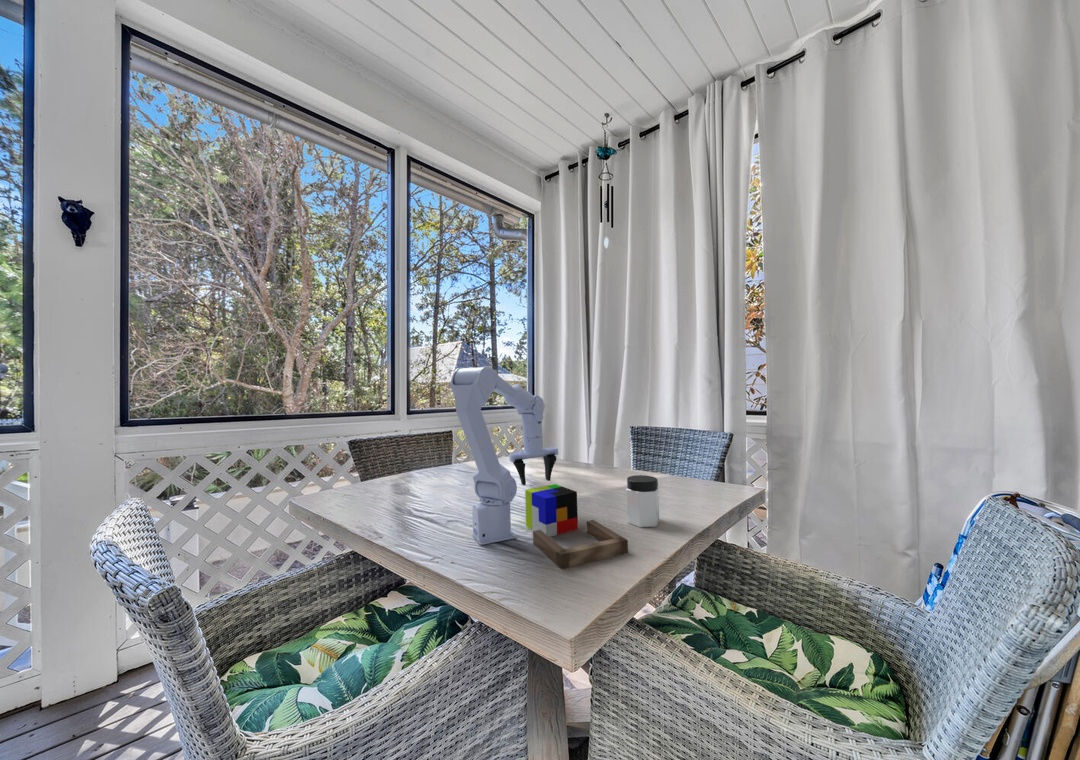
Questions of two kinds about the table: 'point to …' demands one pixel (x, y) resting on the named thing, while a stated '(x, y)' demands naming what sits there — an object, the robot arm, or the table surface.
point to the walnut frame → (583, 546)
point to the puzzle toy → (551, 509)
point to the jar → (642, 501)
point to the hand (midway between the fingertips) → (535, 482)
